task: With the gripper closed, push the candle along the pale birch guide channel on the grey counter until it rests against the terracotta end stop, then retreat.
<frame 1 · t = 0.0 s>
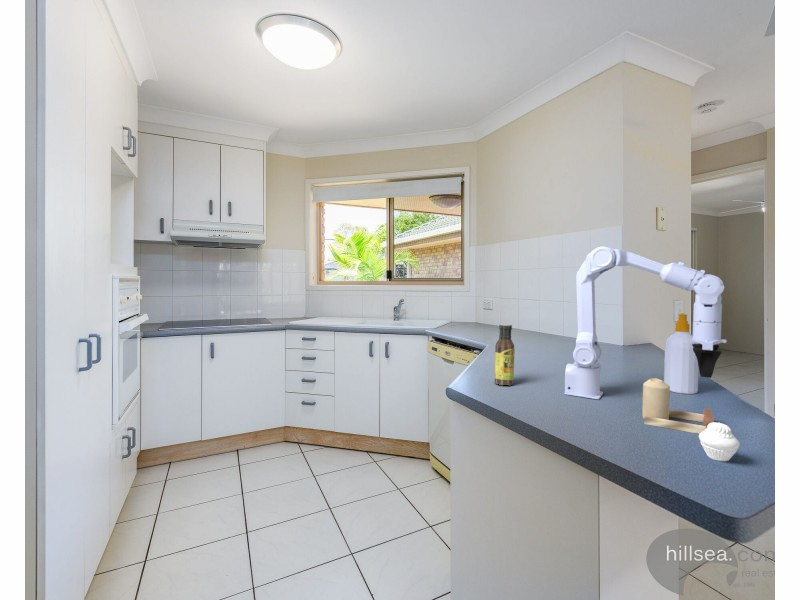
hand: (705, 374, 101), 10 cm above the countertop, fingers open, 7 cm apart
muffin: (717, 458, 76), on the countertop
soap bottle: (680, 390, 123), on the countertop
candle: (655, 420, 97), on the countertop
sauce bottle: (504, 384, 130), on the countertop
channel: (677, 423, 95), on the countertop
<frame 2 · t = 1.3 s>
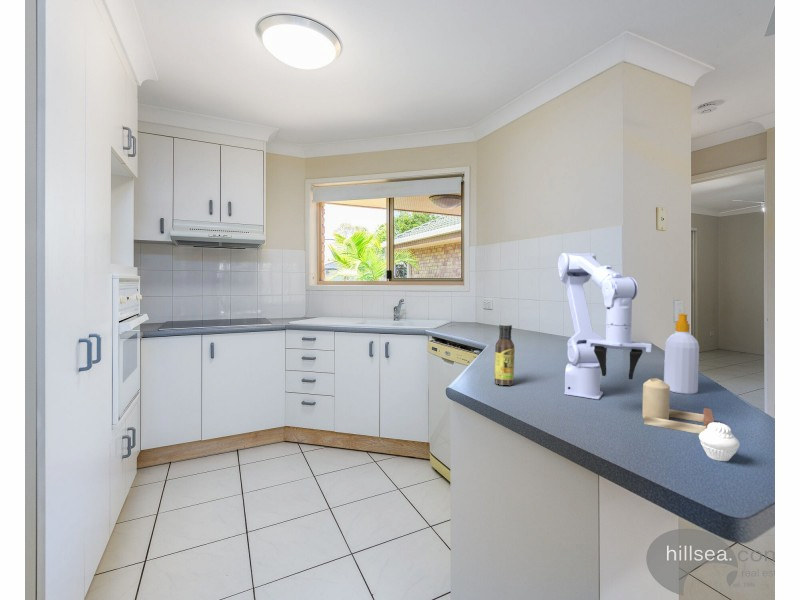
hand: (617, 376, 102), 9 cm above the countertop, fingers open, 5 cm apart
nothing on the countertop moved.
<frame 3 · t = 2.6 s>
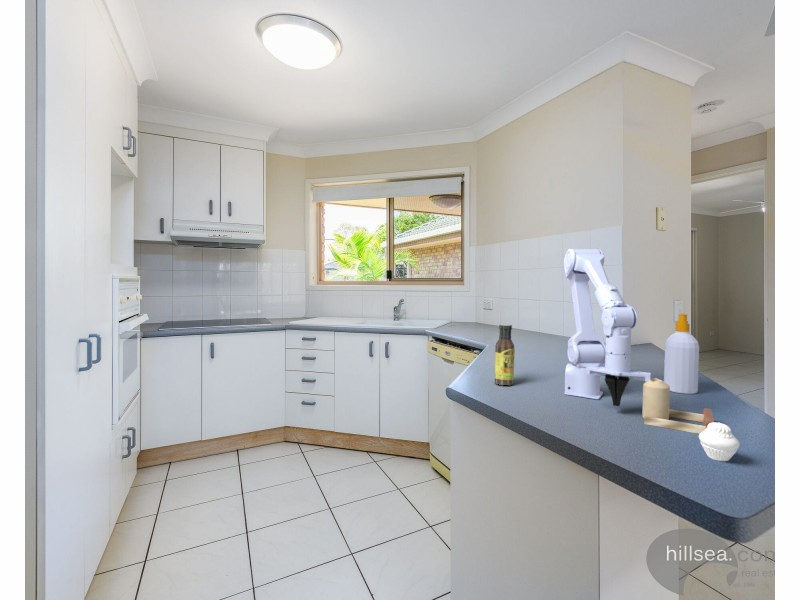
hand: (616, 404, 102), 2 cm above the countertop, fingers closed
nothing on the countertop moved.
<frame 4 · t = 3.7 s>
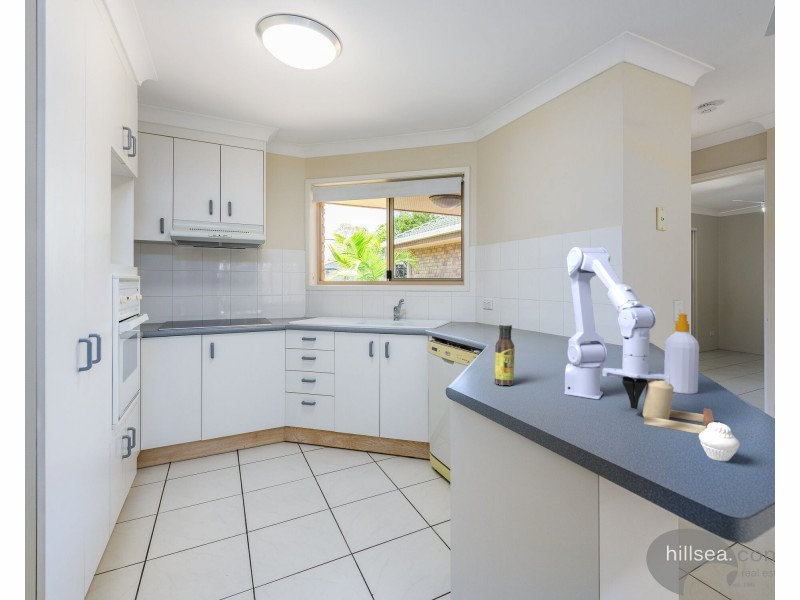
hand: (634, 407, 100), 2 cm above the countertop, fingers closed
candle: (655, 419, 97), on the countertop, touching gripper
everything else where it was.
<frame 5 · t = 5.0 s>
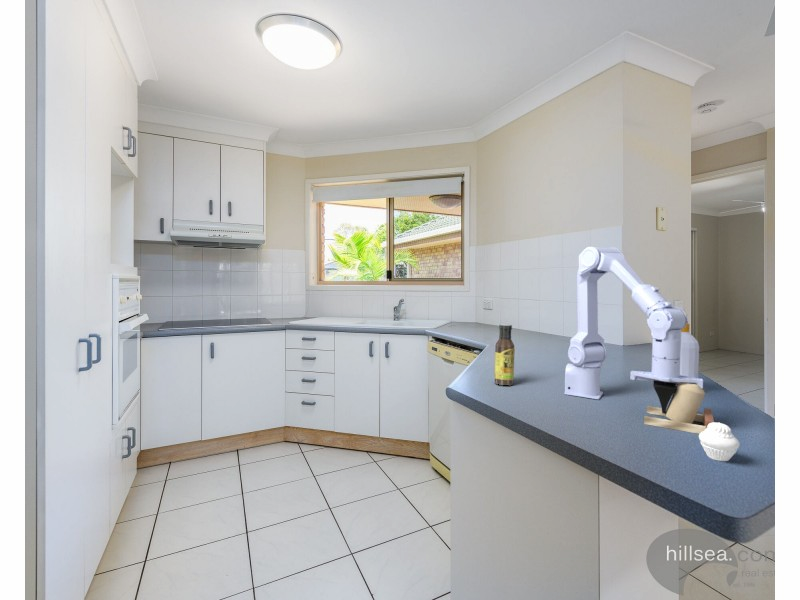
hand: (664, 412, 96), 2 cm above the countertop, fingers closed, pressing on candle
candle: (677, 420, 95), point 1 cm above the countertop, touching gripper
everything else where it was.
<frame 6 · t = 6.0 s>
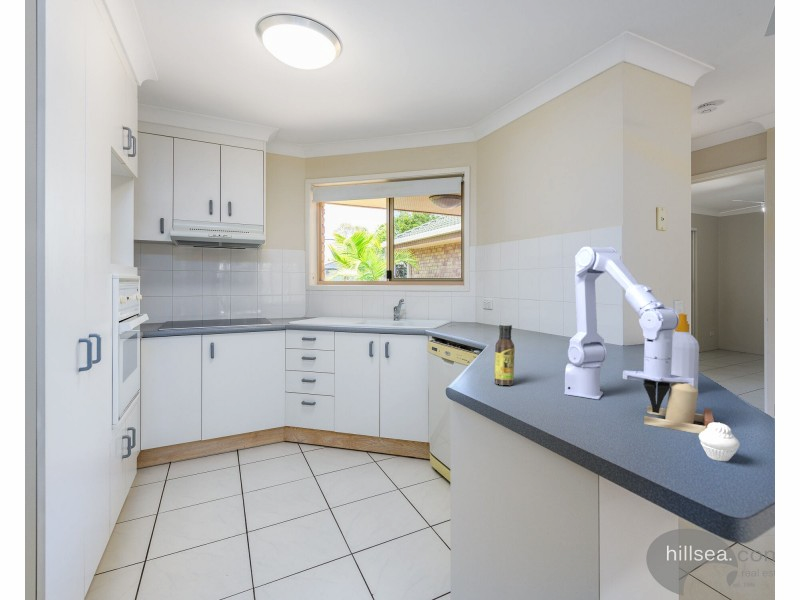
hand: (655, 411, 97), 2 cm above the countertop, fingers closed
candle: (678, 422, 94), on the countertop, touching gripper
everything else where it was.
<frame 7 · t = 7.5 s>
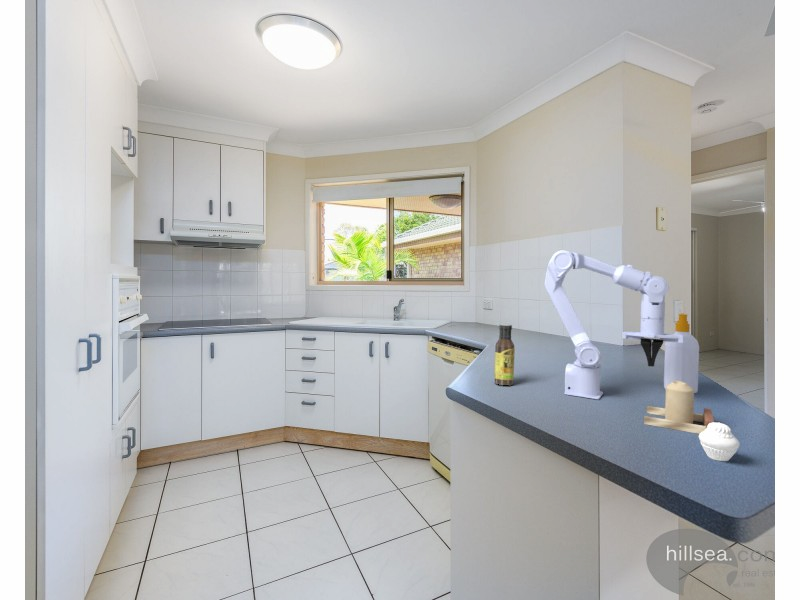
hand: (651, 365, 112), 10 cm above the countertop, fingers closed
candle: (678, 424, 94), on the countertop
everything else where it was.
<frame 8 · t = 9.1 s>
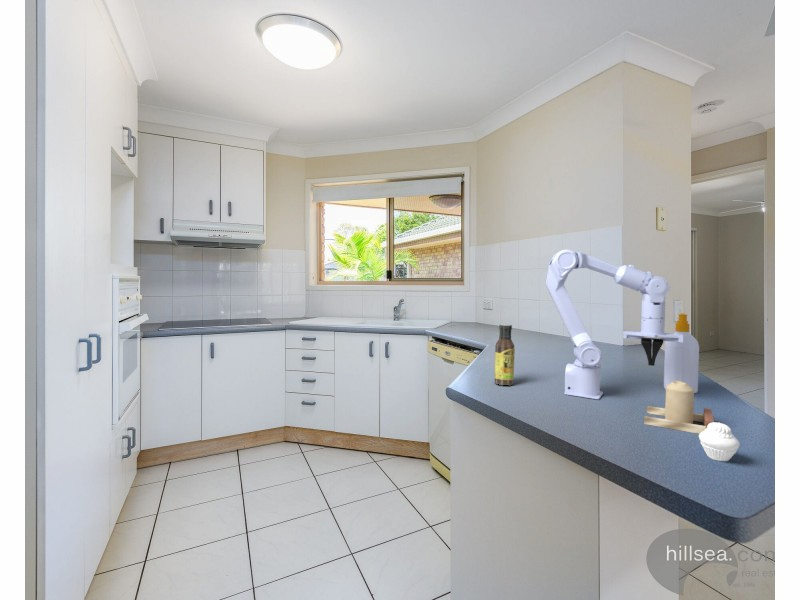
hand: (651, 365, 113), 10 cm above the countertop, fingers closed
nothing on the countertop moved.
at the end: candle 2.1 cm from the target spot on the channel, point 0.0 cm above the channel's base; candle tilted 0°; candle moved 4.7 cm from its start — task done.
